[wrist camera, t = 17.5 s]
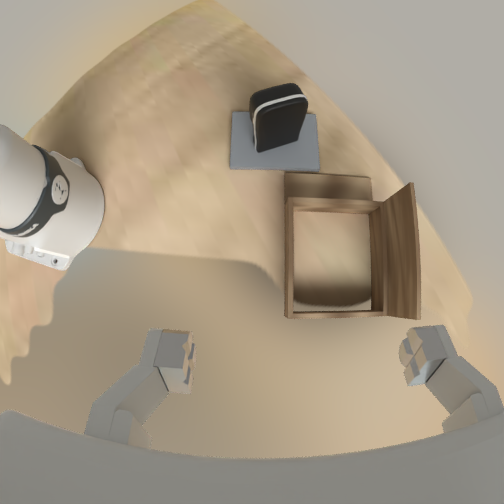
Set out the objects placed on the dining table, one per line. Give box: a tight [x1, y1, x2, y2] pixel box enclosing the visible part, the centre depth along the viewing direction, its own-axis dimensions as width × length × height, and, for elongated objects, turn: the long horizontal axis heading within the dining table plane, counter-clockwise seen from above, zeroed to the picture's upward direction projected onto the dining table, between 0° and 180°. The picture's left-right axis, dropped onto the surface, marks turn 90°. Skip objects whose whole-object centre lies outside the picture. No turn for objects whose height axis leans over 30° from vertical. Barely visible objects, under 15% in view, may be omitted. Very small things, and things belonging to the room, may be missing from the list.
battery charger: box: [249, 83, 308, 153], centre depth 38 cm, size 7×4×11 cm, turn 111°
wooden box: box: [284, 173, 421, 320], centre depth 37 cm, size 14×20×12 cm
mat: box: [230, 112, 320, 172], centre depth 45 cm, size 13×10×1 cm
